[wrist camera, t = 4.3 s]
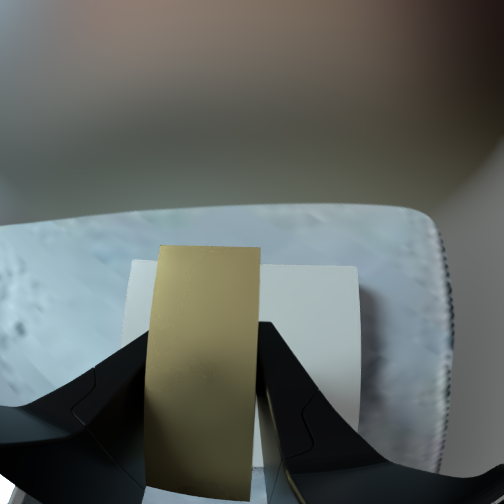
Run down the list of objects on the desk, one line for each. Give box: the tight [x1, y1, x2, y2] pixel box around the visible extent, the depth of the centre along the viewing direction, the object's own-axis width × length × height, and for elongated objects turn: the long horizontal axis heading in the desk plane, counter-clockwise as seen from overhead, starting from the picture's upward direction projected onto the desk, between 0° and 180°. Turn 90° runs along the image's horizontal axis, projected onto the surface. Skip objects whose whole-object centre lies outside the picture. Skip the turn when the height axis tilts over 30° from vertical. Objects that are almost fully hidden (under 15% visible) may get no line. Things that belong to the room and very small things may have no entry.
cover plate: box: [120, 260, 361, 467], centre depth 15 cm, size 12×14×2 cm
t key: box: [144, 245, 260, 502], centre depth 11 cm, size 6×2×12 cm, turn 178°
